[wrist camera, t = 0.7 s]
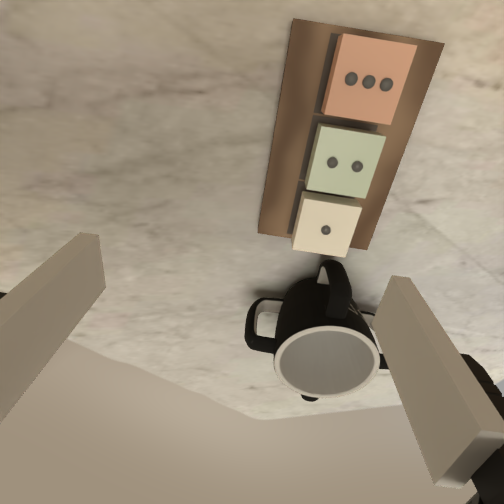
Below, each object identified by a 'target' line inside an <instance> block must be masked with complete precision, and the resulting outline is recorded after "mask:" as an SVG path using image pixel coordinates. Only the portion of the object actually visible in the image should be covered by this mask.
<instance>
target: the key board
mask: <svg viewBox="0 0 504 504" xmlns="http://www.w3.org/2000/svg"><path fill="white" fill-rule="evenodd" d="M343 33H345V34H351V35H357V36H363V37H369V38H375V39H381V40H387V41H393V42H399V43H405V44H411V45H417V49H416V52H415V55H414V58H413V61H412V64H411V66H410V69H409V72H408V75H407V78H406V81H405V84H404V87H403V90H402V93H401V96H400V99H399V102H398V105H397V108H396V110H395V113H394V116H393V119H392V122H391V125H387V124H381V123H375V122H368V121H362V120H356V119H350V118H344V117H338V116H331V115H325V114H323V113H322V112H321V109H322V105H323V101H324V96H325V92H326V88H327V83H328V79H329V75H330V70H331V66H332V62H333V57H334V53H335V49H336V44H337V40H338V36H340V35H342V34H343ZM444 44H445V43H439V42H433V41H427V40H421V39H415V38H409V37H403V36H397V35H391V34H384V33H378V32H372V31H366V30H360V29H354V28H348V27H342V26H336V25H330V24H324V23H318V22H312V21H306V20H300V19H293V22H292V28H291V34H290V40H289V46H288V52H287V58H286V64H285V70H284V76H283V82H282V88H281V94H280V100H279V106H278V112H277V118H276V124H275V130H274V136H273V142H272V148H271V154H270V160H269V166H268V171H267V177H266V183H265V189H264V195H263V201H262V207H261V213H260V219H259V225H258V233H261V234H267V235H274V236H280V237H286V238H292V234H293V230H294V226H295V222H296V217H297V213H298V209H299V204H300V200H301V196H302V191H306V192H312V193H318V194H325V195H331V196H337V197H344V198H350V199H356V200H358V202H359V204H360V205H361V207H362V210H361V213H360V216H359V219H358V222H357V225H356V228H355V231H354V234H353V236H352V239H351V242H350V245H349V247H350V248H357V249H363V250H367V249H368V246H369V244H370V241H371V238H372V236H373V233H374V230H375V228H376V225H377V222H378V220H379V217H380V214H381V212H382V209H383V206H384V204H385V201H386V198H387V196H388V193H389V190H390V188H391V185H392V182H393V180H394V177H395V174H396V172H397V169H398V167H399V164H400V161H401V159H402V156H403V153H404V151H405V148H406V145H407V143H408V140H409V137H410V135H411V132H412V129H413V127H414V124H415V121H416V119H417V116H418V113H419V111H420V108H421V105H422V103H423V100H424V98H425V95H426V92H427V90H428V87H429V84H430V82H431V79H432V76H433V74H434V71H435V68H436V66H437V63H438V60H439V58H440V55H441V52H442V50H443V47H444ZM318 123H324V124H331V125H337V126H343V127H349V128H355V129H362V130H368V131H374V132H379V133H381V134H383V135H384V136H386V140H385V143H384V146H383V149H382V151H381V154H380V157H379V160H378V163H377V166H376V169H375V172H374V175H373V178H372V181H371V184H370V187H369V190H368V193H367V195H366V198H365V199H364V198H358V197H352V196H345V195H339V194H333V193H326V192H320V191H314V190H307V189H306V185H305V178H306V174H307V170H308V165H309V161H310V157H311V152H312V148H313V144H314V139H315V135H316V131H317V127H318Z"/></svg>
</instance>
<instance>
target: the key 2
mask: <svg viewBox="0 0 504 504" xmlns="http://www.w3.org/2000/svg"><path fill="white" fill-rule="evenodd" d="M385 140H386V136H384V135H383V134H381V133H379V132H374V131H368V130H362V129H355V128H349V127H343V126H337V125H331V124H324V123H318V127H317V131H316V135H315V139H314V144H313V148H312V152H311V157H310V161H309V165H308V170H307V174H306V178H305V185H306V189H307V190H314V191H320V192H326V193H333V194H339V195H345V196H352V197H358V198H364V199H365V198H366V195H367V193H368V190H369V187H370V184H371V181H372V178H373V175H374V172H375V169H376V166H377V163H378V160H379V157H380V154H381V151H382V149H383V146H384V143H385Z"/></svg>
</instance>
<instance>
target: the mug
mask: <svg viewBox="0 0 504 504" xmlns="http://www.w3.org/2000/svg"><path fill="white" fill-rule="evenodd" d="M261 312H275V313H279V316H278V321H277V326H276V333H275V338H269V337H263V336H258V335H257V330H256V329H257V319H258V315H259V314H260V313H261ZM374 316H375V314H373V313H369V312H365V311H360V310H359V309H358V307H357V305H356V304H355V302H354V301H353V299H352V290H351V285H350V282H349V279H348V276H347V274H346V271H345V269H344V267H343V265H342V264H341V263H340V262H338V261H335V260H325V261H323V262H322V263H321V265H320V268H319V271H318V275H317V278H309V279H305V280H302V281H300V282H298V283H297V284H295V285H294V286H293V287H292V288H290V290H289V291H288V292H287V294H286V296H285V298H284V299H276V298H260V299H258V300H256V301H255V302H254V303H253V304H252V306H251V307H250V309H249V311H248V314H247V318H246V324H245V336H244V337H245V341H246V343H247V345H248V347H249V348H251V349H253V350H256V351H261V352H266V353H272V354H274V369H275V372H276V374H277V376H278V378H279V379H280V380H281V382H282V383H283V384H284V385H286V386H287V387H288V388H290V389H291V390H293V391H295V392H297V393H299V394H301V396H302V398H303V399H304V400H306V401H312V402H313V401H316V400H318V399H319V398H334V397H340V396H345V395H348V394H351V393H354V392H356V391H358V390H360V389H361V388H363V387H364V386H366V385H367V384H368V383H369V382H370V381H371V380H372V379H373V378H374V377H375V375H376V374H377V372H378V369H389V368H388V365H387V362H386V360H385V357H384V355H383V354H380V353H379V351H378V348H377V345H376V343H375V340H374V337H373V335H372V333H371V331H370V329H369V327H370V328H371V329H372V330H374V329H373V326H372V324H371V323H372V321H373V319H374Z"/></svg>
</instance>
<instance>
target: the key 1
mask: <svg viewBox="0 0 504 504" xmlns="http://www.w3.org/2000/svg"><path fill="white" fill-rule="evenodd" d="M361 210H362V207H361V205H360V204H359V202H358V200H356V199H350V198H344V197H337V196H331V195H325V194H318V193H312V192H306V191H302V196H301V200H300V204H299V209H298V213H297V217H296V222H295V226H294V230H293V234H292V239H291V241H292V249H293V250H300V251H306V252H313V253H319V254H325V255H332V256H338V257H346V254H347V251H348V248H349V245H350V242H351V239H352V236H353V234H354V231H355V228H356V225H357V222H358V219H359V216H360V213H361Z"/></svg>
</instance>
